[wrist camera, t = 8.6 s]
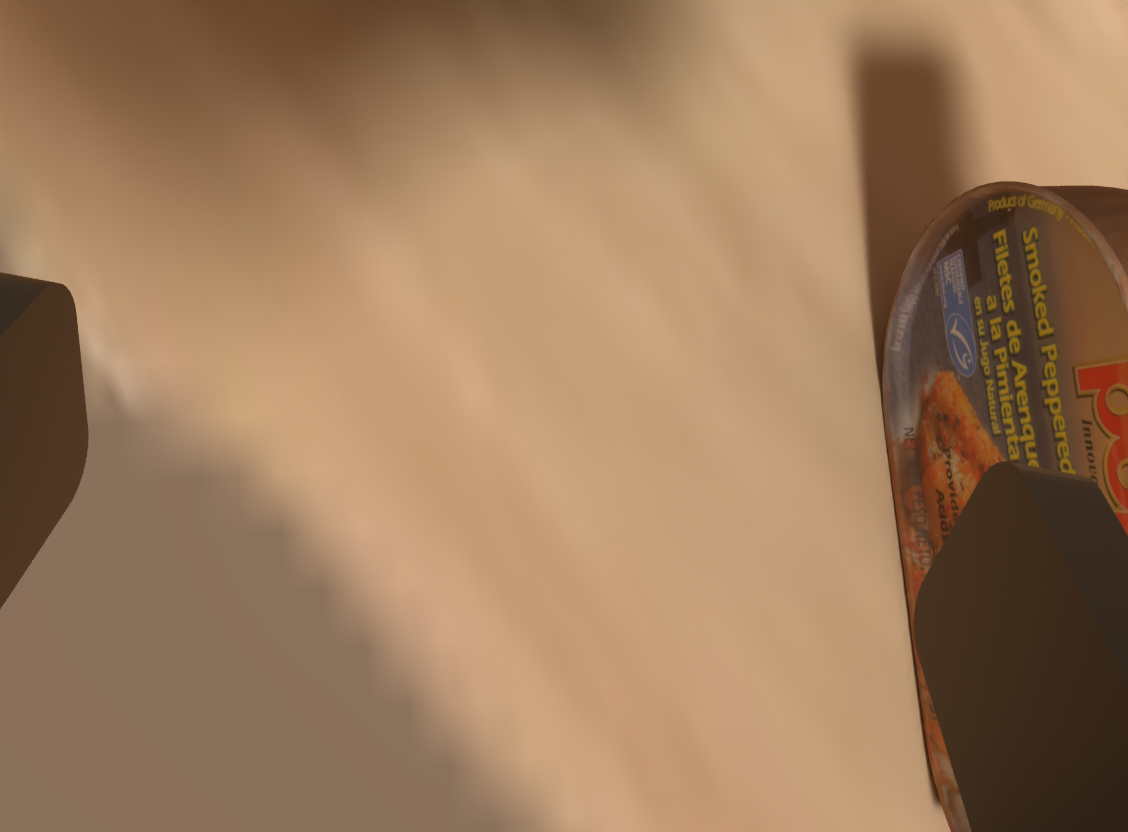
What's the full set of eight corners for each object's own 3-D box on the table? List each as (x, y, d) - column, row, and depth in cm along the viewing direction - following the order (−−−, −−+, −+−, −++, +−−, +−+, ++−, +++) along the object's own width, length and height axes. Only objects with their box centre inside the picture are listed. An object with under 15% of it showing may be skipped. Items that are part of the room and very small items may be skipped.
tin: (862, 258, 25) (1067, 101, 16) (986, 251, 25) (1249, 95, 17) (943, 920, 23) (1226, 1128, 14) (1077, 903, 23) (1430, 1096, 15)
